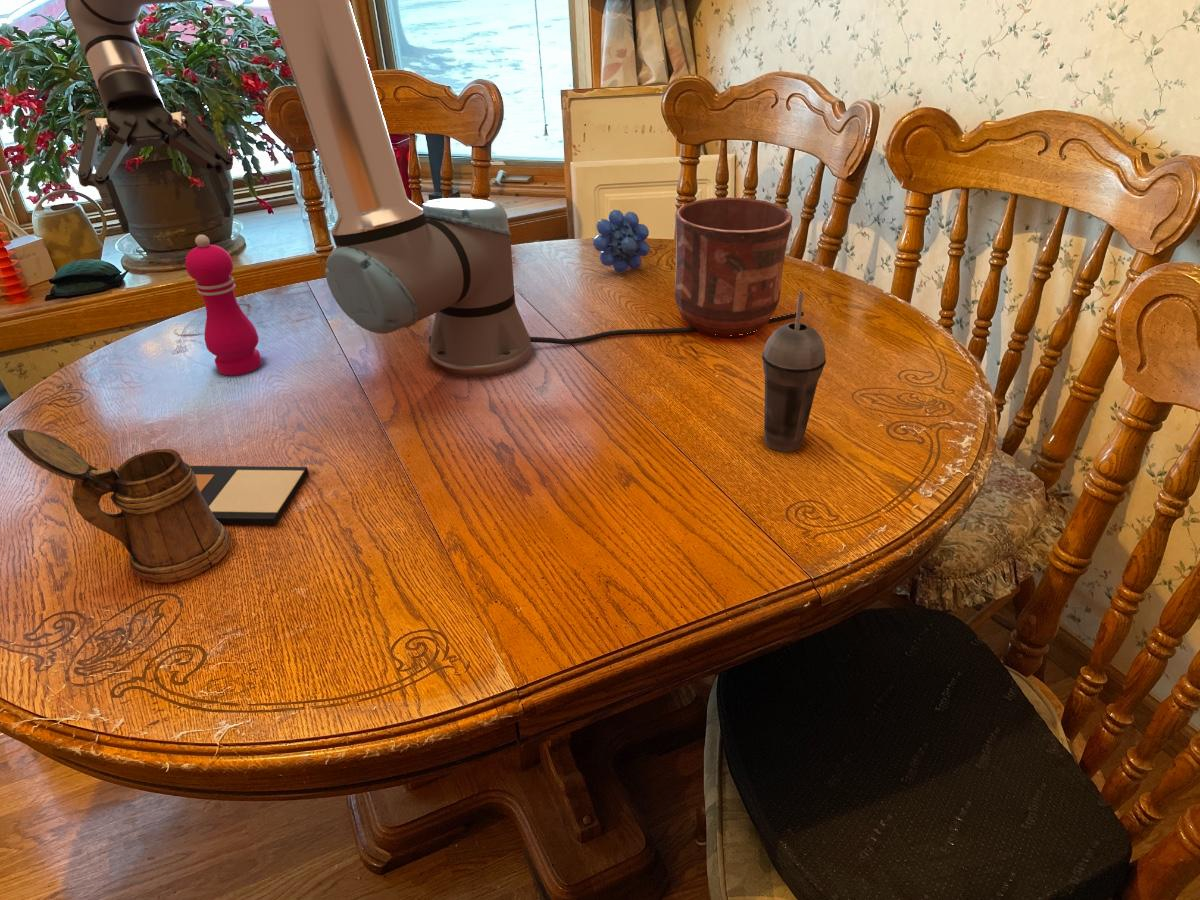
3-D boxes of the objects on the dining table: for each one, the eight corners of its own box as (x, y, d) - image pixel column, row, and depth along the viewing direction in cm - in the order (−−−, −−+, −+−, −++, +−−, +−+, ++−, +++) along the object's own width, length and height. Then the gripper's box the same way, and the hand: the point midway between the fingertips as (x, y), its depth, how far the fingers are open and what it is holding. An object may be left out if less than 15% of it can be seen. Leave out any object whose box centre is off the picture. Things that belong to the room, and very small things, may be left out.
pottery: (796, 315, 129) (810, 205, 119) (754, 356, 116) (766, 237, 107) (700, 295, 137) (705, 191, 127) (651, 331, 125) (653, 219, 115)
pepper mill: (247, 379, 113) (207, 244, 103) (204, 375, 115) (159, 242, 104) (274, 357, 119) (239, 228, 109) (232, 354, 121) (193, 226, 110)
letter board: (309, 473, 93) (307, 465, 92) (275, 526, 84) (273, 517, 84) (186, 472, 93) (184, 464, 93) (141, 524, 85) (138, 515, 84)
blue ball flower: (604, 285, 142) (603, 219, 136) (588, 273, 147) (587, 210, 141) (660, 274, 146) (661, 210, 140) (642, 263, 151) (643, 201, 145)
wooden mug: (82, 561, 80) (6, 410, 70) (222, 517, 86) (169, 371, 76) (86, 614, 73) (2, 455, 64) (237, 562, 79) (182, 409, 69)
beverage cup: (816, 431, 98) (839, 279, 87) (809, 462, 92) (833, 304, 81) (758, 422, 100) (774, 273, 89) (748, 452, 94) (764, 296, 84)
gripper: (216, 93, 122) (264, 218, 122) (28, 106, 109) (82, 246, 109) (218, 63, 116) (269, 195, 115) (19, 73, 103) (76, 222, 102)
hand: (178, 220), depth 112 cm, fingers open, 13 cm apart
